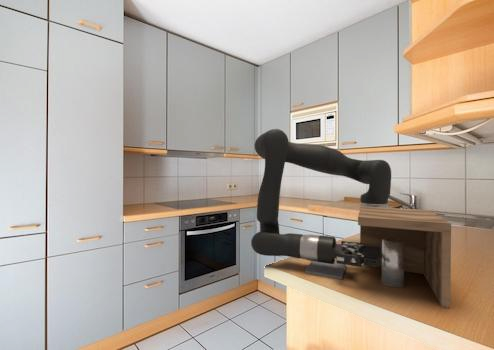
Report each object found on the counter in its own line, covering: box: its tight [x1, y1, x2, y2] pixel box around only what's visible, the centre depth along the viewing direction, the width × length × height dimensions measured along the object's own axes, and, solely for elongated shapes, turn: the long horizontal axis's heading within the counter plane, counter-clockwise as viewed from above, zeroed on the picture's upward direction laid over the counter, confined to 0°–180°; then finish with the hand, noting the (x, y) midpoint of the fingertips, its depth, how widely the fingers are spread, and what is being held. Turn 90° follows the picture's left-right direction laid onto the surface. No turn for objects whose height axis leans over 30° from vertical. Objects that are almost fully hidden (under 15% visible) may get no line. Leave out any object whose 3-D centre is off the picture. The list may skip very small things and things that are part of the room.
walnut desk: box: [357, 206, 452, 309], centre depth 67 cm, size 21×18×18 cm
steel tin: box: [381, 238, 405, 288], centre depth 66 cm, size 5×5×11 cm
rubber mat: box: [304, 261, 347, 280], centre depth 76 cm, size 11×10×1 cm
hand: (380, 256), depth 68 cm, fingers open, 8 cm apart
